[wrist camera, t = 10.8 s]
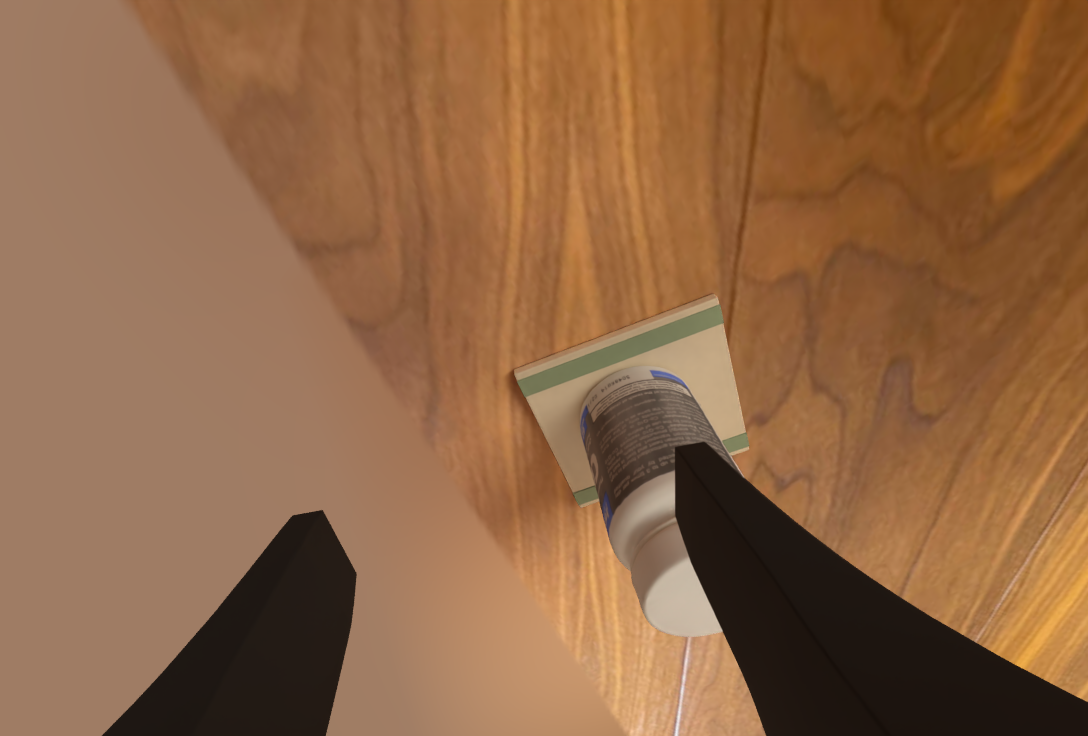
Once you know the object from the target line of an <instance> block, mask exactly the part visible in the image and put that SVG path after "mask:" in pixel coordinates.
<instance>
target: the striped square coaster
mask: <svg viewBox="0 0 1088 736" xmlns="http://www.w3.org/2000/svg"><path fill="white" fill-rule="evenodd" d="M723 323H724V321H723V316H722V311H721V306H720V304H719V301H718V298H717V296H716V295H715V294H711V295H708V296H706V297H703V298H701V299H698V300H695V301H693V302H690V303H687V304H685V305H682V306H680V307H677V308H674V309H672V310H669V311H666V312H664V313H661V314H659V315H656V316H653V317H651V318H648V319H645V320H643V321H640V322H638V323H635V324H632V325H630V326H627V327H624V328H622V329H619V330H617V331H614V332H611V333H609V334H606V335H603V336H601V337H598V338H596V339H593V340H590V341H588V342H585V343H582V344H580V345H577V346H575V347H572V348H569V349H567V350H564V351H561V352H559V353H556V354H554V355H551V356H548V357H546V358H543V359H540V360H538V361H535V362H533V363H530V364H527V365H525V366H522V367H519V368H517V369H514V376H515V378H516V380H517V383H518V385H519V387H520V389H521V391H522V393H523V395H524V397H525V398H526V400H527V402H528V404H529V406H530V408H531V410H532V412H533V414H534V416H535V418H536V420H537V422H538V424H539V426H540V428H541V430H542V432H543V434H544V436H545V438H546V440H547V442H548V444H549V446H550V448H551V450H552V452H553V454H554V456H555V458H556V460H557V462H558V464H559V466H560V468H561V470H562V472H563V474H564V476H565V478H566V480H567V482H568V484H569V486H570V488H571V490H572V492H573V495H574V497H575V499H576V501H577V503H578V505H579V506H580V508H582V507H585V506H588V505H591V504H594V503H597V502H599V497H598V494H597V491H596V487H595V483H594V480H593V476H592V473H591V469H590V465H589V461H588V458H587V453H586V450H585V447H584V443H583V440H582V436H581V430H580V413H581V409H582V406H583V403H584V401H585V399H586V398H587V396H588V395H589V393H590V392H591V391H592V389H593V388H595V387H596V386H597V385H598V384H599V383H600V382H601V381H603V380H604V379H605V378H607V377H608V376H610V375H612V374H614V373H616V372H618V371H621V370H623V369H626V368H630V367H636V366H655V367H660V368H664V369H667V370H669V371H671V372H673V373H675V374H676V375H678V376H679V377H680V378H681V379H682V380H683V381H684V382H685V383H686V384H687V386H688V387H689V389H690V390H691V392H692V394H693V395H694V397H695V398H696V400H697V401H698V402H699V403H700V405H701V408H702V409H703V411H704V413H705V415H706V416H707V418H708V419H709V421H710V422H711V424H712V426H713V428H714V429H715V431H716V433H717V434H718V436H719V437H720V439H721V441H722V442H723V444H724V446H725V447H726V449H727V450H728V452H729V454H730V455H731V456H732V455H735V454H738V453H741V452H744V451H747V450H749V442H748V437H747V433H746V431H745V426H744V422H743V417H742V412H741V407H740V402H739V397H738V393H737V388H736V383H735V378H734V373H733V369H732V364H731V359H730V354H729V349H728V344H727V340H726V335H725V330H724V325H723Z"/></svg>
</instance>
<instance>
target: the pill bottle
mask: <svg viewBox="0 0 1088 736" xmlns="http://www.w3.org/2000/svg"><path fill="white" fill-rule="evenodd" d="M580 430H581V436H582V440H583V443H584V447H585V450H586V453H587V458H588V461H589V465H590V469H591V473H592V476H593V480H594V483H595V487H596V491H597V494H598V497H599V502H600V506H601V510H602V514H603V518H604V521H605V525H606V528H607V532H608V536H609V540H610V543H611V546H612V548H613V550H614V553H615V555H616V556H617V558H618V559H619V561H620V562H621V563H622V564H623V565H624V566H625V567H626V568H627V569H628V570H630V571H631V578H632V583H633V586H634V588H635V591H636V593H637V596H638V599H639V602H640V605H641V608H642V611H643V613H644V615H645V617H646V619H647V621H648V622H649V623H650V624H651V625H652V626H653V627H655V628H656V629H658V630H659V631H661V632H664V633H667V634H671V635H675V636H682V637H699V636H706V635H711V634H715V633H720V632H723V631H722V629H721V627H720V625H719V622H718V620H717V618H716V616H715V614H714V612H713V610H712V607H711V605H710V603H709V601H708V599H707V597H706V595H705V592H704V590H703V588H702V586H701V584H700V582H699V579H698V577H697V575H696V573H695V571H694V568H693V566H692V564H691V562H690V559H689V556H688V553H687V550H686V547H685V544H684V541H683V538H682V535H681V532H680V529H679V526H678V523H677V520H676V517H675V447H677V446H682V445H688V444H694V443H699V442H706V443H707V444H708V445H710V446H711V447H712V448H713V449H714V450H715V451H716V452H717V453H718V454H719V455H720V456H721V457H722V458H723V459H725V460H726V461H727V462H728V463H729V464H730V465H731V466H732V467H733V468H734V469H735V470H736V471H737V472H739V473H740V474H741V475H742V476H743V474H742V473H741V471H740V469H739V468H738V466H737V465H736V463H735V462H734V460H733V458H732V456H731V455H730V454H729V452H728V450H727V449H726V447H725V446H724V444H723V442H722V441H721V439H720V437H719V436H718V434H717V433H716V431H715V429H714V428H713V426H712V424H711V422H710V421H709V419H708V418H707V416H706V415H705V413H704V411H703V409H702V408H701V405H700V403H699V402H698V401H697V400H696V398H695V397H694V395H693V394H692V392H691V390H690V389H689V387H688V386H687V384H686V383H685V382H684V381H683V380H682V379H681V378H680V377H679V376H678V375H676V374H675V373H673V372H671V371H669V370H667V369H664V368H660V367H655V366H636V367H630V368H626V369H623V370H621V371H618V372H616V373H614V374H612V375H610V376H608V377H607V378H605V379H604V380H603V381H601V382H600V383H599V384H598V385H597V386H596V387H595V388H593V389H592V391H591V392H590V393H589V395H588V396H587V398H586V399H585V401H584V403H583V406H582V409H581V413H580ZM743 477H744V476H743Z"/></svg>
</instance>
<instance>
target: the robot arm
mask: <svg viewBox="0 0 1088 736" xmlns="http://www.w3.org/2000/svg"><path fill="white" fill-rule="evenodd" d="M675 517H676V520H677V523H678V526H679V529H680V532H681V535H682V538H683V541H684V544H685V547H686V550H687V553H688V556H689V559H690V562H691V564H692V566H693V568H694V571H695V573H696V575H697V577H698V579H699V582H700V584H701V586H702V588H703V590H704V592H705V595H706V597H707V599H708V601H709V603H710V605H711V607H712V610H713V612H714V614H715V616H716V618H717V620H718V622H719V625H720V627H721V629H722V631H723V633H724V635H725V637H726V639H727V642H728V644H729V646H730V648H731V650H732V652H733V654H734V657H735V659H736V661H737V663H738V665H739V667H740V669H741V672H742V674H743V676H744V679H745V681H746V683H747V686H748V688H749V691H750V693H751V695H752V698H753V701H754V703H755V706H756V709H757V712H758V714H759V717H760V720H761V723H762V725H763V728H764V731H765V733H766V736H1088V702H1086V701H1084V700H1082V699H1080V698H1078V697H1076V696H1074V695H1072V694H1070V693H1068V692H1066V691H1064V690H1062V689H1061V688H1059V687H1057V686H1055V685H1053V684H1051V683H1049V682H1047V681H1045V680H1043V679H1041V678H1039V677H1038V676H1036V675H1034V674H1032V673H1030V672H1028V671H1026V670H1024V669H1022V668H1020V667H1018V666H1017V665H1015V664H1013V663H1011V662H1009V661H1007V660H1005V659H1004V658H1002V657H1000V656H998V655H996V654H995V653H993V652H991V651H990V650H988V649H986V648H984V647H983V646H981V645H979V644H977V643H976V642H974V641H972V640H970V639H969V638H967V637H965V636H964V635H962V634H960V633H958V632H957V631H955V630H953V629H951V628H950V627H948V626H946V625H944V624H943V623H941V622H939V621H938V620H936V619H934V618H932V617H931V616H929V615H927V614H926V613H924V612H923V611H921V610H919V609H918V608H916V607H915V606H913V605H912V604H910V603H908V602H907V601H905V600H904V599H902V598H900V597H899V596H897V595H896V594H894V593H893V592H891V591H890V590H888V589H887V588H885V587H884V586H882V585H881V584H879V583H878V582H876V581H875V580H873V579H872V578H870V577H869V576H867V575H866V574H864V573H863V572H862V571H860V570H859V569H857V568H856V567H855V566H853V565H852V564H850V563H849V562H848V561H846V560H845V559H843V558H842V557H841V556H839V555H838V554H837V553H835V552H834V551H833V550H831V549H830V548H829V547H827V546H826V545H825V544H823V543H822V542H821V541H819V540H818V539H817V538H815V537H814V536H813V535H812V534H810V533H809V532H808V531H807V530H805V529H804V528H803V527H801V526H800V525H799V524H798V523H796V522H795V521H794V520H793V519H792V518H790V517H789V516H788V515H787V514H786V513H784V512H783V511H782V510H781V509H780V508H778V507H777V506H776V505H775V504H774V503H772V502H771V501H770V500H769V499H768V498H767V497H765V496H764V495H763V494H762V493H761V492H760V491H759V490H757V489H756V488H755V487H754V486H753V485H752V484H751V483H750V482H748V481H747V480H746V479H745V478H744V477H743V476H742V475H741V474H740V473H739V472H737V471H736V470H735V469H734V468H733V467H732V466H731V465H730V464H729V463H728V462H727V461H726V460H725V459H723V458H722V457H721V456H720V455H719V454H718V453H717V452H716V451H715V450H714V449H713V448H712V447H711V446H710V445H708V444H707V443H706V442H699V443H694V444H688V445H682V446H677V447H675ZM355 585H356V572H355V570H354V568H353V566H352V564H351V562H350V560H349V559H348V557H347V555H346V553H345V551H344V549H343V547H342V545H341V544H340V542H339V540H338V538H337V536H336V534H335V532H334V531H333V529H332V527H331V525H330V523H329V521H328V519H327V518H326V516H325V514H324V512H323V510H320V511H315V512H309V513H304V514H298V515H293V516H292V517H291V518H290V519H289V520H288V522H287V523H286V524H285V525H284V526H283V528H282V529H281V530H280V531H279V533H278V534H277V535H276V536H275V538H274V539H273V540H272V541H271V543H270V544H269V545H268V546H267V548H266V549H265V550H264V552H263V553H262V554H261V556H260V557H259V558H258V559H257V560H256V562H255V563H254V564H253V565H252V567H251V568H250V570H249V571H248V572H247V573H246V575H245V576H244V577H243V578H242V579H241V581H240V582H239V583H238V584H237V585H236V587H235V588H234V589H233V590H232V592H231V593H230V594H229V595H228V596H227V598H226V599H225V600H224V601H223V603H222V604H221V605H220V606H219V608H218V609H217V610H216V611H215V612H214V614H213V615H212V616H211V617H210V618H209V620H208V621H207V622H206V623H205V624H204V625H203V627H202V628H201V629H200V630H199V631H198V632H197V633H196V635H195V636H194V637H193V638H192V639H191V640H190V642H189V643H188V644H187V645H186V646H185V648H183V650H182V651H181V652H180V653H179V654H178V655H177V657H176V658H175V659H174V660H173V661H172V662H171V663H170V664H169V666H168V667H167V668H166V669H165V670H164V671H163V673H162V674H161V675H160V676H159V677H158V678H157V679H156V680H155V681H154V682H153V683H152V684H151V686H150V687H149V688H148V689H147V690H146V691H145V692H144V693H143V694H142V695H141V696H140V697H139V698H138V699H137V700H136V702H135V703H134V704H133V705H132V706H131V707H130V708H129V709H128V710H127V711H126V712H125V713H124V714H123V715H122V716H121V717H120V718H119V719H118V720H117V721H116V722H115V723H114V724H113V725H112V726H111V727H110V728H109V729H108V730H107V731H106V732H105V733H104V734H103V735H102V736H326V732H327V728H328V724H329V720H330V715H331V711H332V707H333V702H334V698H335V694H336V690H337V686H338V681H339V677H340V673H341V669H342V664H343V660H344V655H345V651H346V647H347V642H348V638H349V633H350V628H351V623H352V615H353V606H354V596H355Z"/></svg>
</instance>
